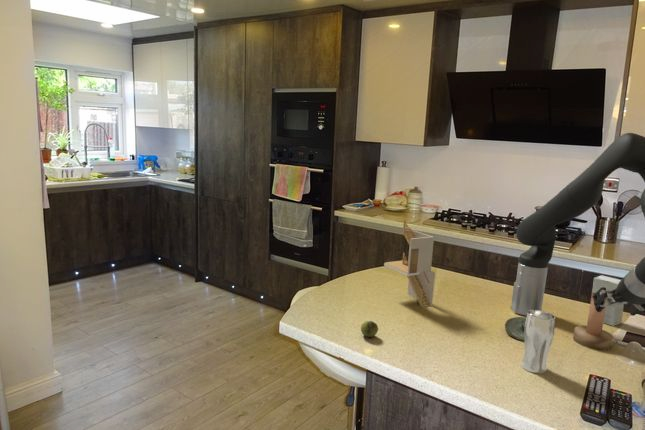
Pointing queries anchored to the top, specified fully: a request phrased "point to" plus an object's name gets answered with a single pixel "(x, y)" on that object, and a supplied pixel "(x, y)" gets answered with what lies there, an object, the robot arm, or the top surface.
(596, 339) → the base
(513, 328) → the lid
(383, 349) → the top surface
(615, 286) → the skincare box
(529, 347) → the beer glass
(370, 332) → the lime
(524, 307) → the robot arm
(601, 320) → the pink drinking glass
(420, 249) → the staircase
